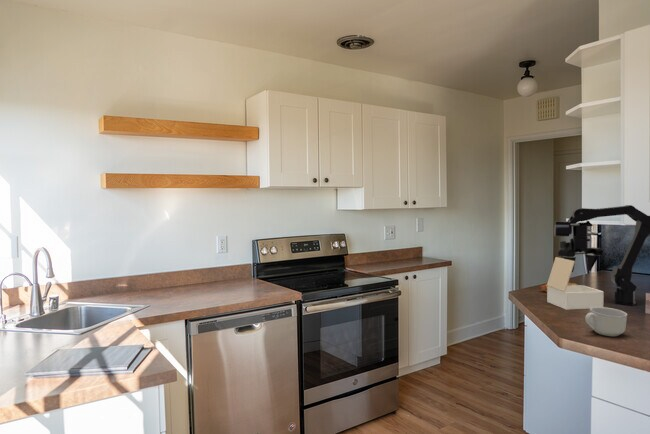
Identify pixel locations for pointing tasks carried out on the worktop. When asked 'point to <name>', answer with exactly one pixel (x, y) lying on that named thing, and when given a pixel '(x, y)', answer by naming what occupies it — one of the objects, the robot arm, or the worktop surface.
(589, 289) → the carton
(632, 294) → the robot arm
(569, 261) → the flap
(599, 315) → the teacup
